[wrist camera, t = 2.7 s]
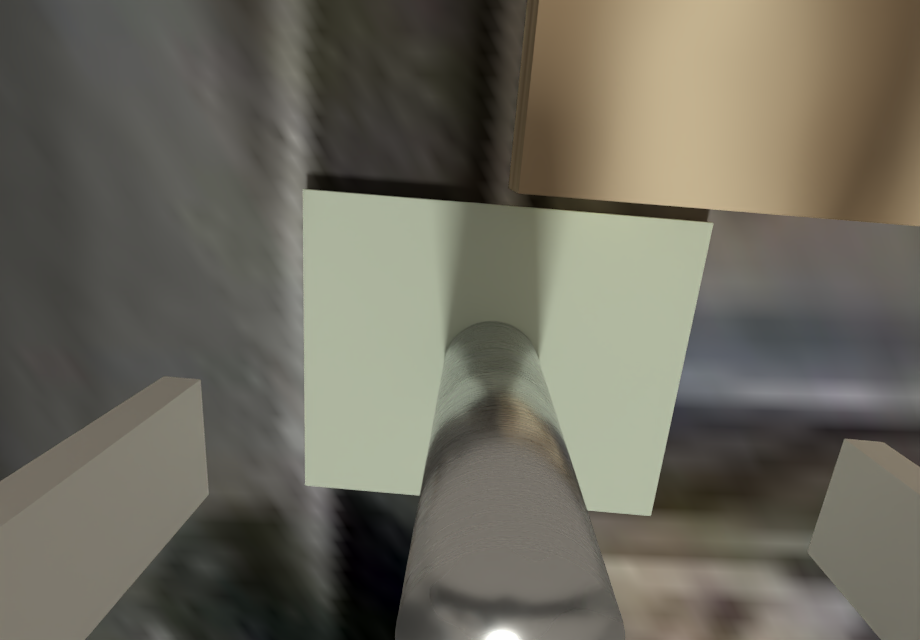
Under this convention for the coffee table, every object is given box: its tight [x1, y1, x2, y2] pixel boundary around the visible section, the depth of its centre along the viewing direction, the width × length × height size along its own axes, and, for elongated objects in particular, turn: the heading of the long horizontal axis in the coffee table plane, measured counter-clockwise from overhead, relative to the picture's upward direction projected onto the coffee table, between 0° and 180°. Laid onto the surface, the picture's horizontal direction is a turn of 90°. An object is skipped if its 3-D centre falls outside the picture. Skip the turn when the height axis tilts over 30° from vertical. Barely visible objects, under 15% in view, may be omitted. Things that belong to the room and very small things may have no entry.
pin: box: [395, 321, 625, 640], centre depth 11 cm, size 3×3×10 cm
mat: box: [303, 189, 713, 516], centre depth 16 cm, size 12×10×1 cm
